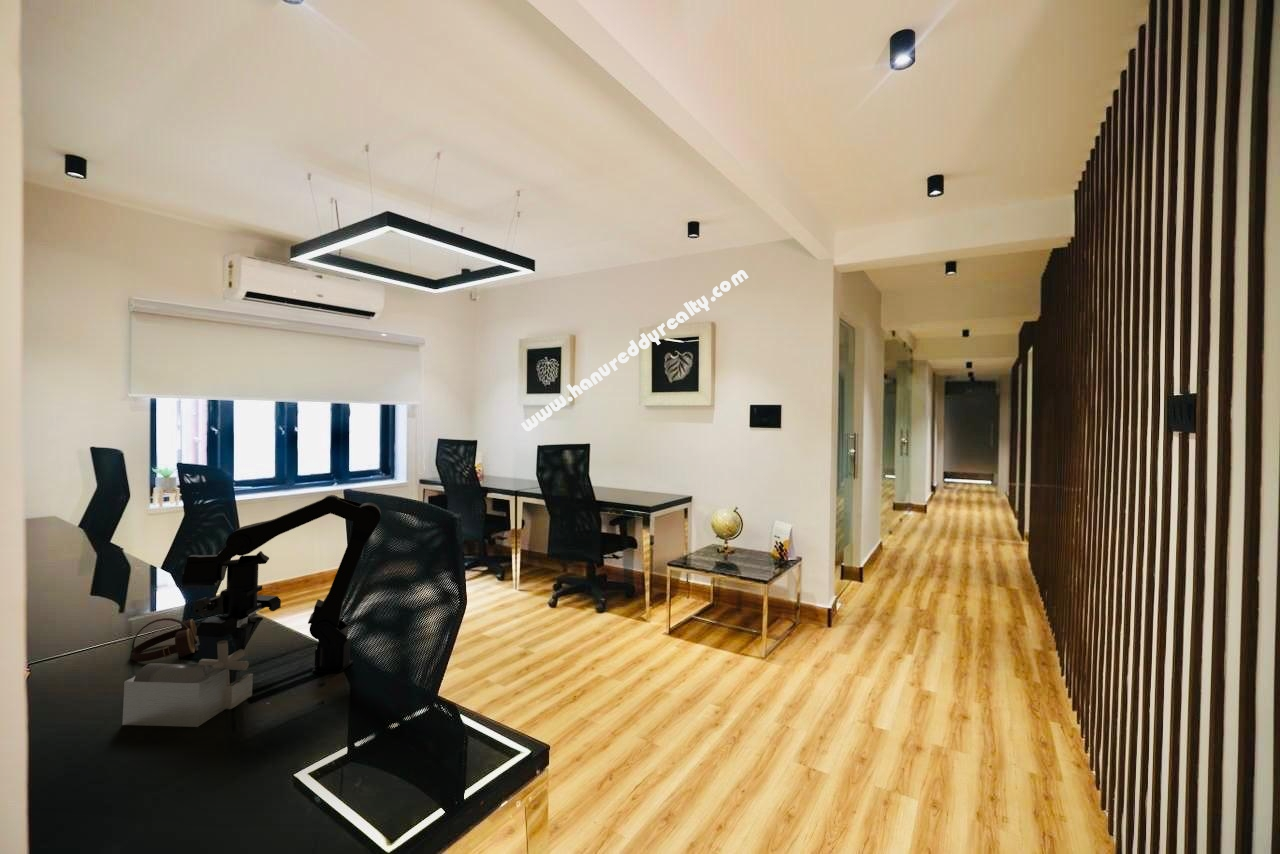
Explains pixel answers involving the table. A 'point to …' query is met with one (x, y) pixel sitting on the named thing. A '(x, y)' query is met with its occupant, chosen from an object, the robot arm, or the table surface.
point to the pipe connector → (226, 659)
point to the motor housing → (180, 694)
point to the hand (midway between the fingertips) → (240, 652)
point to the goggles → (182, 639)
